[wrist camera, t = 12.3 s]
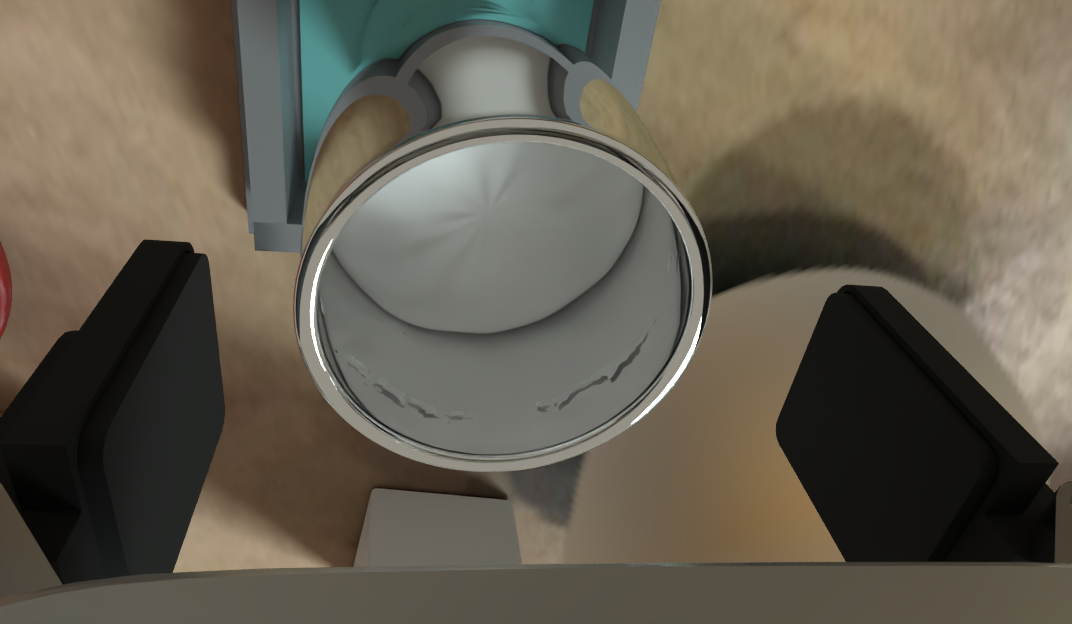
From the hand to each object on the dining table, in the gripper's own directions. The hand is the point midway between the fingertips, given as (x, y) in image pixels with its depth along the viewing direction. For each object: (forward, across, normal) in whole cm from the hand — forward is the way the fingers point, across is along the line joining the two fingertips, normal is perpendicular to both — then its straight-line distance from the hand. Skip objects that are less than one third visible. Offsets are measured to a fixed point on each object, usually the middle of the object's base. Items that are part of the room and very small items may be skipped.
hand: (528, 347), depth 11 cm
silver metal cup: (+16, +1, 0) cm, 16 cm away
